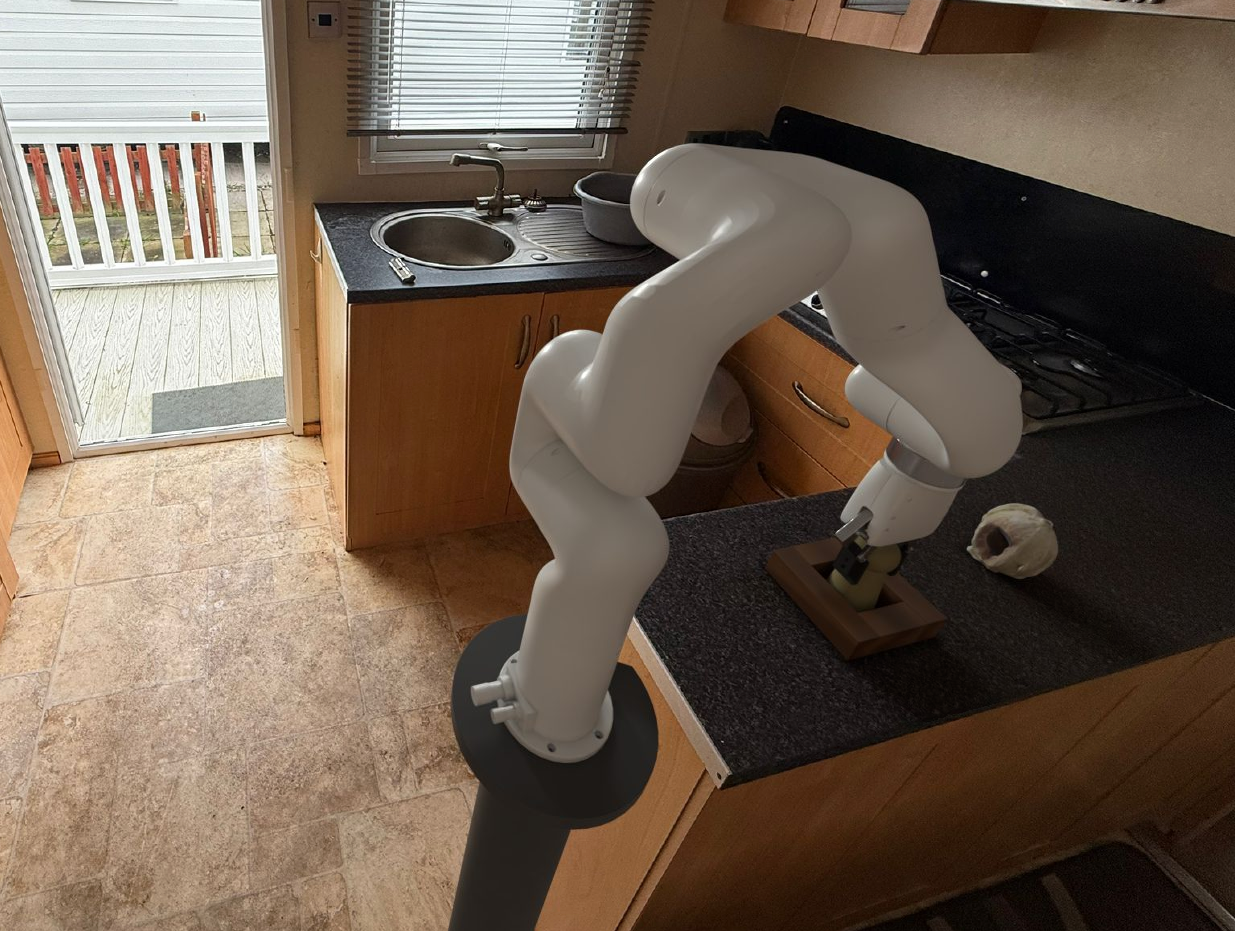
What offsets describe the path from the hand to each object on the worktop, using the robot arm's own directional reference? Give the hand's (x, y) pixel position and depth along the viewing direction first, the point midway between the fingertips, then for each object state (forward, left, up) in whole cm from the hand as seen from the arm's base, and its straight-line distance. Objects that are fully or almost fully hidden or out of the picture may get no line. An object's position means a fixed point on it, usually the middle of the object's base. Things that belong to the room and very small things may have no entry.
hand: (863, 570), depth 82 cm
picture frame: (0, 0, -6) cm, 6 cm away
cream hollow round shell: (+27, 0, -6) cm, 28 cm away
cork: (0, 0, -6) cm, 6 cm away
